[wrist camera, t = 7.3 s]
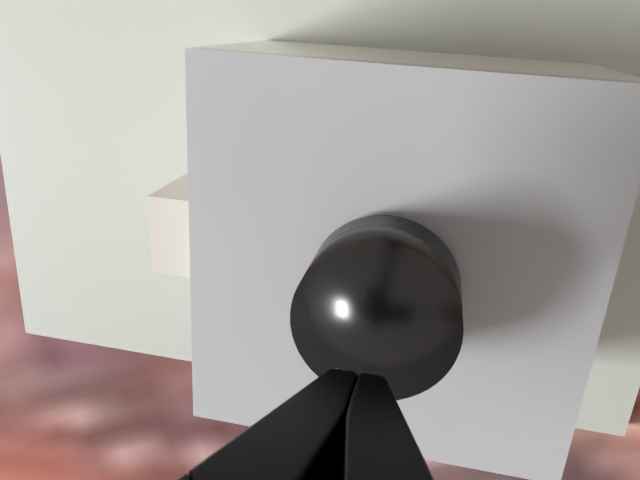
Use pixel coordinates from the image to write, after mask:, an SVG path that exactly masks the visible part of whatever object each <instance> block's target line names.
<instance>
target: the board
mask: <svg viewBox="0 0 640 480" xmlns="http://www.w3.org/2000/svg"><path fill="white" fill-rule="evenodd" d="M262 40H274V41H288V42H301V43H315V44H329V45H342V46H356V47H370V48H383V49H397V50H411V51H424V52H438V53H452V54H465V55H479V56H493V57H506V58H520V59H534V60H547V61H561V62H575V63H588V64H595V65H598V66H601V67H605V68H608V69H612V70H615V71H618V72H622V73H625V74H628V75H632V76H635V77H639V78H640V0H0V154H1V161H2V168H3V175H4V182H5V189H6V196H7V203H8V210H9V217H10V224H11V231H12V238H13V246H14V253H15V260H16V267H17V274H18V281H19V288H20V295H21V302H22V309H23V316H24V323H25V330H26V333H30V334H36V335H42V336H48V337H54V338H59V339H65V340H71V341H77V342H82V343H88V344H94V345H100V346H105V347H111V348H117V349H123V350H128V351H134V352H140V353H146V354H152V355H157V356H163V357H169V358H175V359H180V360H186V361H192V335H191V292H190V278H189V277H182V276H175V275H168V274H162V273H155V272H151V257H150V237H149V217H148V197H147V196H148V195H150V194H152V193H153V192H155V191H157V190H159V189H160V188H162V187H164V186H166V185H167V184H169V183H171V182H172V181H174V180H176V179H178V178H179V177H181V176H183V175H185V174H186V173H188V163H187V120H186V77H185V48H194V47H203V46H213V45H223V44H233V43H243V42H252V41H262ZM639 388H640V187H639V191H638V195H637V199H636V202H635V206H634V210H633V213H632V217H631V221H630V225H629V228H628V232H627V236H626V240H625V243H624V247H623V251H622V254H621V258H620V262H619V266H618V269H617V273H616V277H615V280H614V284H613V288H612V292H611V295H610V299H609V303H608V307H607V310H606V314H605V318H604V321H603V325H602V329H601V333H600V336H599V340H598V344H597V348H596V351H595V355H594V359H593V362H592V366H591V370H590V374H589V377H588V381H587V385H586V389H585V392H584V396H583V400H582V403H581V407H580V411H579V415H578V418H577V422H576V426H575V428H578V429H584V430H590V431H596V432H601V433H607V434H613V435H619V436H625V433H626V430H627V427H628V423H629V420H630V417H631V414H632V410H633V407H634V404H635V401H636V397H637V394H638V391H639Z"/></svg>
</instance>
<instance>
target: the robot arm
mask: <svg viewBox="0 0 640 480" xmlns="http://www.w3.org/2000/svg"><path fill="white" fill-rule="evenodd" d="M177 480H434V478H433V476H432V474H431V472H430V470H429V468H428V466H427V464H426V461H425V459H424V457H423V455H422V453H421V451H420V449H419V447H418V445H417V443H416V441H415V438H414V436H413V434H412V432H411V430H410V428H409V426H408V424H407V422H406V420H405V418H404V416H403V413H402V411H401V409H400V407H399V405H398V403H397V401H396V399H395V397H394V395H393V393H392V390H391V388H390V386H389V384H388V382H387V380H386V378H385V377H383V376H380V375H374V374H368V373H360V374H359V375H358V376H357V374H356V373H355V372H354V371H350V370H344V369H338V368H331V369H329V370H327V371H326V372H325V373H323V374H322V375H321V376H319V377H318V378H316V379H315V380H314V381H312V382H311V383H310V384H308V385H307V386H305V387H304V388H303V389H301V390H300V391H299V392H297V393H296V394H294V395H293V396H292V397H290V398H289V399H288V400H286V401H285V402H283V403H282V404H281V405H279V406H278V407H277V408H275V409H274V410H272V411H271V412H270V413H268V414H267V415H265V416H264V417H263V418H261V419H260V420H259V421H257V422H256V423H254V424H253V425H252V426H250V427H249V428H248V429H246V430H245V431H243V432H242V433H241V434H239V435H238V436H237V437H235V438H234V439H232V440H231V441H230V442H228V443H227V444H226V445H224V446H223V447H221V448H220V449H219V450H217V451H216V452H215V453H213V454H212V455H210V456H209V457H208V458H206V459H205V460H204V461H202V462H201V463H199V464H198V465H197V466H195V467H194V468H192V469H191V470H190V471H189V474H184V475H182V476H181V477H180V478H178V479H177Z"/></svg>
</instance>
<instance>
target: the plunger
mask: <svg viewBox="0 0 640 480" xmlns="http://www.w3.org/2000/svg"><path fill="white" fill-rule="evenodd" d="M290 326H291V332H292V336H293V340H294V343H295V345H296V347H297V350H298V352H299V354H300V355H301V357H302V358H303V360H304V362H305V363H306V364H307V365H308V367H309V368H310V369H311V370H312V371H313V372H314V373H315V374H316V375H317V376H318V377H319V376H321V375H322V374H323V373H325V372H326V371H327V370H329V369H331V368H338V369H344V370H350V371H354V372H355V373H356V374H357V376H358V375H359V374H360V373H368V374H374V375H380V376H383V377H385V378H386V380H387V382H388V384H389V386H390V388H391V390H392V393H393V395H394V397H395V399H396V400H401V399H405V398H410V397H412V396H415V395H418V394H420V393H422V392H424V391H426V390H428V389H430V388H431V387H433V386H434V385H436V384H437V383H438V382H439V381H440V380H442V379H443V378H444V377H445V376H446V374H447V373H448V372H449V371H450V370H451V368H452V367H453V365H454V363H455V362H456V360H457V357H458V355H459V353H460V350H461V346H462V342H463V332H464V328H463V307H462V287H461V277H460V272H459V268H458V265H457V263H456V260H455V258H454V256H453V255H452V253H451V251H450V250H449V248H448V247H447V246H446V244H445V243H444V242H443V241H442V240H441V239H440V238H439V237H438V236H437V235H436V234H434V233H433V232H432V231H431V230H429V229H428V228H426V227H424V226H423V225H421V224H419V223H417V222H414V221H412V220H409V219H406V218H403V217H398V216H392V215H371V216H366V217H361V218H358V219H355V220H352V221H350V222H348V223H346V224H344V225H342V226H341V227H339V228H338V229H336V230H335V231H334V232H333V233H332V234H331V235H329V236H328V237H327V239H326V240H325V241H324V242H323V243H322V245H321V247H320V248H319V250H318V251H317V253H316V255H315V257H314V258H313V260H312V262H311V264H310V265H309V267H308V269H307V271H306V272H305V274H304V276H303V278H302V279H301V281H300V283H299V285H298V287H297V289H296V291H295V293H294V296H293V300H292V303H291V310H290Z"/></svg>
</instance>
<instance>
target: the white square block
mask: <svg viewBox="0 0 640 480" xmlns="http://www.w3.org/2000/svg"><path fill="white" fill-rule="evenodd" d="M185 77H186V120H187V163H188V173H186V174H185V175H183V176H181V177H179V178H178V179H176V180H174V181H172V182H171V183H169V184H167V185H166V186H164V187H162V188H160V189H159V190H157V191H155V192H153V193H152V194H150V195H148V196H147V197H148V217H149V237H150V257H151V272H155V273H162V274H168V275H175V276H182V277H189V278H190V292H191V335H192V377H193V416H198V417H203V418H209V419H214V420H219V421H225V422H230V423H235V424H240V425H246V426H252V425H253V424H254V423H256V422H257V421H259V420H260V419H261V418H263V417H264V416H265V415H267V414H268V413H270V412H271V411H272V410H274V409H275V408H277V407H278V406H279V405H281V404H282V403H283V402H285V401H286V400H288V399H289V398H290V397H292V396H293V395H294V394H296V393H297V392H299V391H300V390H301V389H303V388H304V387H305V386H307V385H308V384H310V383H311V382H312V381H314V380H315V379H316V378H318V376H317V375H316V374H315V373H314V372H313V371H312V370H311V369H310V368H309V367H308V365H307V364H306V363H305V362H304V360H303V358H302V357H301V355H300V354H299V352H298V350H297V347H296V345H295V343H294V340H293V336H292V332H291V326H290V310H291V303H292V300H293V296H294V293H295V291H296V289H297V287H298V285H299V283H300V281H301V279H302V278H303V276H304V274H305V272H306V271H307V269H308V267H309V265H310V264H311V262H312V260H313V258H314V257H315V255H316V253H317V251H318V250H319V248H320V247H321V245H322V243H323V242H324V241H325V240H326V239H327V237H328V236H329V235H331V234H332V233H333V232H334V231H335V230H336V229H338V228H339V227H341V226H342V225H344V224H346V223H348V222H350V221H352V220H355V219H358V218H361V217H366V216H371V215H392V216H398V217H403V218H406V219H409V220H412V221H414V222H417V223H419V224H421V225H423V226H424V227H426V228H428V229H429V230H431V231H432V232H433V233H434V234H436V235H437V236H438V237H439V238H440V239H441V240H442V241H443V242H444V243H445V244H446V246H447V247H448V248H449V250H450V251H451V253H452V255H453V256H454V258H455V260H456V263H457V265H458V268H459V272H460V277H461V287H462V307H463V328H464V332H463V342H462V346H461V350H460V353H459V355H458V357H457V360H456V362H455V363H454V365H453V367H452V368H451V370H450V371H449V372H448V373H447V374H446V376H445V377H444V378H443V379H442V380H440V381H439V382H438V383H437V384H436V385H434V386H433V387H431V388H430V389H428V390H426V391H424V392H422V393H420V394H418V395H415V396H412V397H410V398H405V399H401V400H396V401H397V403H398V405H399V407H400V409H401V411H402V413H403V416H404V418H405V420H406V422H407V424H408V426H409V428H410V430H411V432H412V434H413V436H414V438H415V441H416V443H417V445H418V447H419V449H420V451H421V453H422V455H423V457H424V459H425V460H430V461H435V462H440V463H446V464H451V465H456V466H462V467H467V468H472V469H477V470H483V471H488V472H493V473H498V474H504V475H509V476H514V477H519V478H525V479H530V480H561V478H562V474H563V471H564V467H565V463H566V459H567V456H568V452H569V448H570V444H571V441H572V437H573V433H574V430H575V426H576V422H577V418H578V415H579V411H580V407H581V403H582V400H583V396H584V392H585V389H586V385H587V381H588V377H589V374H590V370H591V366H592V362H593V359H594V355H595V351H596V348H597V344H598V340H599V336H600V333H601V329H602V325H603V321H604V318H605V314H606V310H607V307H608V303H609V299H610V295H611V292H612V288H613V284H614V280H615V277H616V273H617V269H618V266H619V262H620V258H621V254H622V251H623V247H624V243H625V240H626V236H627V232H628V228H629V225H630V221H631V217H632V213H633V210H634V206H635V202H636V199H637V195H638V191H639V187H640V78H639V77H635V76H632V75H628V74H625V73H622V72H618V71H615V70H612V69H608V68H605V67H601V66H598V65H595V64H588V63H575V62H561V61H547V60H534V59H520V58H506V57H493V56H479V55H465V54H452V53H438V52H424V51H411V50H397V49H383V48H370V47H356V46H342V45H329V44H315V43H301V42H288V41H274V40H262V41H252V42H243V43H233V44H223V45H213V46H203V47H194V48H185Z"/></svg>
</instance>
